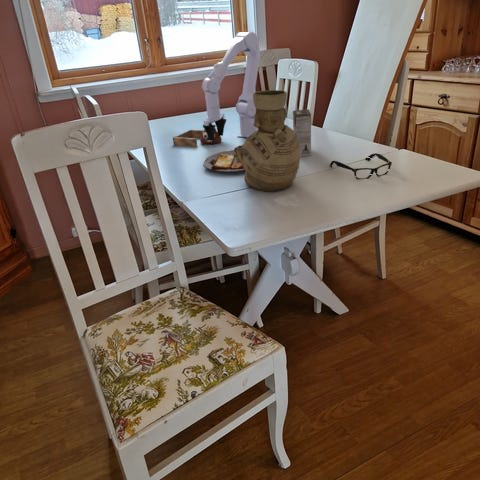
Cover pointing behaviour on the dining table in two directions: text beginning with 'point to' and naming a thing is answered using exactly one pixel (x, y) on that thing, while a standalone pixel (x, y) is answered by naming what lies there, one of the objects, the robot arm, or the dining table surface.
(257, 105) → the ceramic vessel
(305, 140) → the coffee box
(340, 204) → the dining table surface
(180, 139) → the brown u-shaped block
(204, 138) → the poop emoji
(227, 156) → the food plate
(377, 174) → the glasses
